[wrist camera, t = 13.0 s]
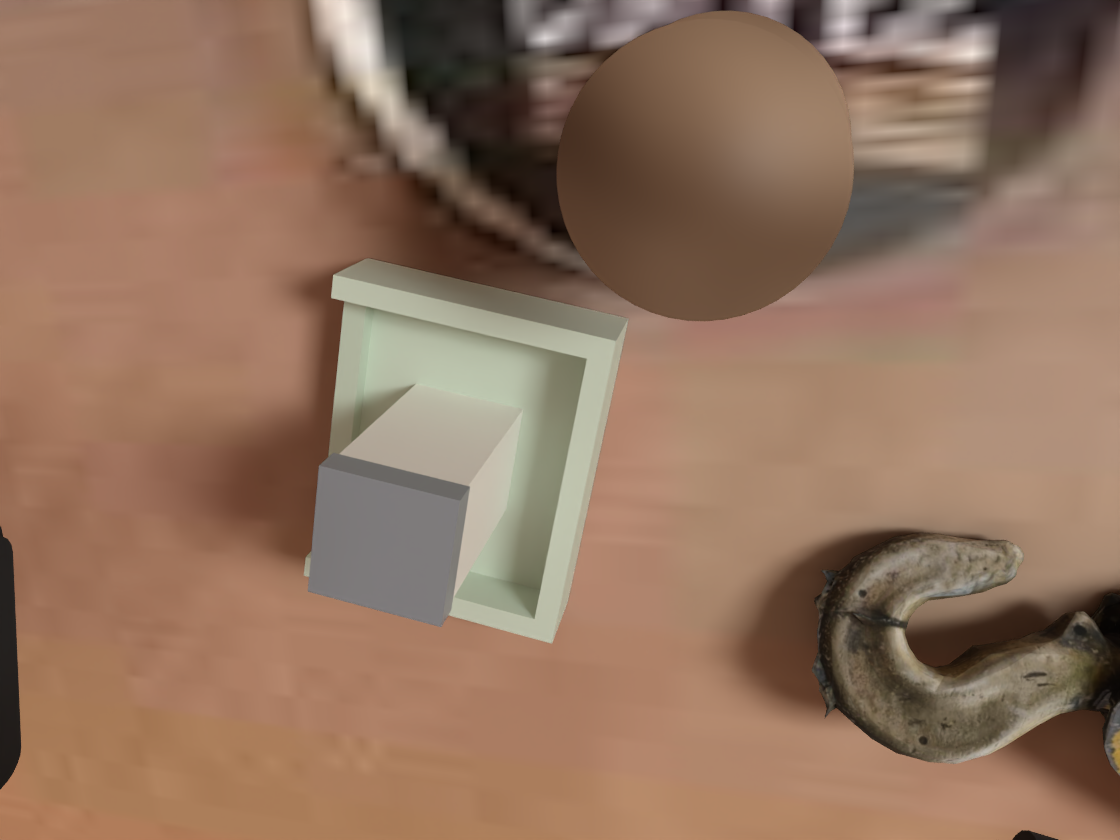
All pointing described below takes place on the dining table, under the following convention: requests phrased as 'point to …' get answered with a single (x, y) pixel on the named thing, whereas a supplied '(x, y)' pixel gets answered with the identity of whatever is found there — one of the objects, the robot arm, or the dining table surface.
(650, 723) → the dining table surface
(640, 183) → the knob
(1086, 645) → the pulley block
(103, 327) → the dining table surface
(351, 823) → the dining table surface
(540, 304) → the open tray
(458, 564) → the white grey rectangular block
